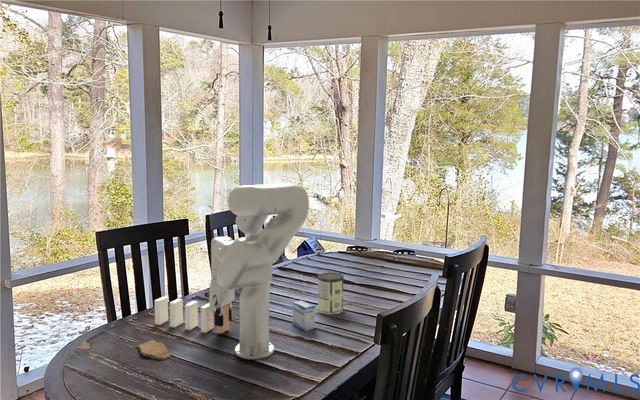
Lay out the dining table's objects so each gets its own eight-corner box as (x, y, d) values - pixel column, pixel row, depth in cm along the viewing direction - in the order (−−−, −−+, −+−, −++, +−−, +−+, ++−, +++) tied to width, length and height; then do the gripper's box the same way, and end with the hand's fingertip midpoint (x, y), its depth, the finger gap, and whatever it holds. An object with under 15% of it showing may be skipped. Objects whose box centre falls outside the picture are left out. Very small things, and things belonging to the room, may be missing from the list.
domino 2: (198, 325, 187) (197, 301, 185) (190, 330, 182) (189, 305, 181) (193, 324, 187) (193, 300, 186) (185, 329, 183) (184, 304, 181)
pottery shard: (178, 358, 162) (151, 342, 172) (178, 351, 162) (152, 335, 171) (155, 368, 156) (128, 350, 165) (155, 360, 156) (128, 343, 165)
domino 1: (183, 322, 189) (182, 299, 188) (174, 327, 184) (174, 303, 183) (178, 322, 189) (177, 298, 188) (170, 326, 185) (169, 302, 184)
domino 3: (213, 327, 184) (213, 303, 183) (205, 332, 180) (205, 308, 179) (208, 326, 185) (208, 302, 184) (201, 331, 180) (200, 307, 179)
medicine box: (292, 324, 188) (292, 302, 187) (301, 322, 191) (301, 299, 190) (305, 331, 182) (305, 307, 181) (315, 328, 185) (315, 305, 184)
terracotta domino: (229, 328, 182) (229, 303, 181) (222, 333, 177) (221, 308, 176) (224, 327, 183) (224, 303, 182) (217, 332, 178) (216, 307, 177)
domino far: (168, 320, 191) (167, 297, 190) (159, 325, 186) (159, 301, 185) (163, 319, 192) (163, 296, 191) (155, 324, 187) (154, 300, 186)
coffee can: (325, 304, 211) (325, 270, 210) (347, 308, 206) (348, 274, 204) (312, 311, 203) (312, 276, 201) (335, 316, 197) (335, 280, 196)
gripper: (225, 265, 187) (226, 313, 189) (199, 277, 171) (200, 330, 173) (244, 267, 184) (244, 316, 186) (219, 280, 168) (219, 333, 171)
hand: (223, 322), depth 180 cm, fingers closed on terracotta domino, 4 cm apart
